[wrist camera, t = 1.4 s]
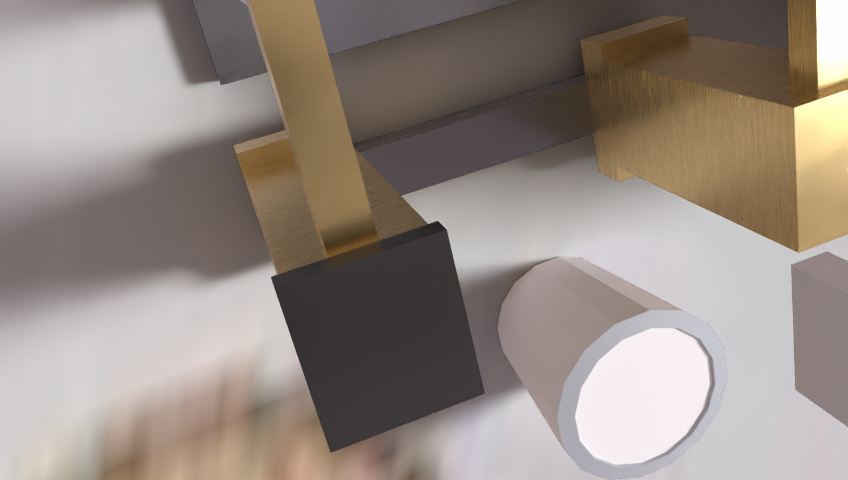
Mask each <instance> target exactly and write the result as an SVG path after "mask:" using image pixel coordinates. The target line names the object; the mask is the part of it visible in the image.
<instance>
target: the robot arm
mask: <svg viewBox="0 0 848 480" xmlns="http://www.w3.org/2000/svg"><path fill="white" fill-rule="evenodd" d="M791 273H792V302H793V332H794V361H795V390H797V391H798V392H800V393H801V394H802V395H804V396H805V397H807V398H808V399H809V400H811V401H812V402H814V403H815V404H816V405H818V406H819V407H821V408H822V409H824V410H825V411H826V412H828V413H829V414H831V415H832V416H833V417H835V418H836V419H838V420H839V421H840V422H842V423H843V424H845V425H846V426H847V427H848V261H846V260H844V259H842V258H840V257H838V256H836V255H833V254H831V253H829V252H824V253H822V254H819V255H816V256H814V257H811V258H808V259H806V260H803V261H800V262H798V263H795V264H792V265H791Z"/></svg>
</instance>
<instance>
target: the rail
mask: <svg viewBox="0 0 848 480" xmlns="http://www.w3.org/2000/svg"><path fill="white" fill-rule="evenodd" d="M592 133H593V127H592V120H591V113H590V106H589V98H588V91H587V84H586V77H585V74H582V75H579V76H576V77H573V78H569V79H566V80H563V81H560V82H556V83H553V84H550V85H547V86H543V87H540V88H537V89H534V90H530V91H527V92H524V93H521V94H517V95H514V96H511V97H508V98H504V99H501V100H498V101H495V102H491V103H488V104H485V105H482V106H478V107H475V108H472V109H469V110H465V111H462V112H459V113H456V114H452V115H449V116H446V117H443V118H439V119H436V120H433V121H430V122H426V123H423V124H420V125H417V126H413V127H410V128H407V129H404V130H400V131H397V132H394V133H390V134H387V135H384V136H381V137H377V138H374V139H371V140H368V141H364V142H361V143H358V144H355V145H353V147H354V148H355V149H356V150H357V151H358V152H359V153H360V154H361V155H362V156H363V158H364V159H365V160H366V161H367V162H368V163H369V164H370V165H371V166H372V167H373V168H374V169H375V170H376V171H377V172H378V173H379V174H380V175H381V176H382V177H383V178H384V179H385V180H386V181H387V182H388V183H389V184H390V185H391V186H392V187H393V188H394V190H395V191H396V192H397V193H398V194H399V195H400V196H401V195H404V194H407V193H410V192H414V191H417V190H420V189H423V188H426V187H429V186H432V185H435V184H438V183H441V182H444V181H447V180H451V179H454V178H457V177H460V176H463V175H466V174H469V173H472V172H475V171H478V170H481V169H484V168H487V167H491V166H494V165H497V164H500V163H503V162H506V161H509V160H512V159H515V158H518V157H521V156H524V155H528V154H531V153H534V152H537V151H540V150H543V149H546V148H549V147H552V146H555V145H558V144H561V143H565V142H568V141H571V140H574V139H577V138H580V137H583V136H586V135H589V134H592Z"/></svg>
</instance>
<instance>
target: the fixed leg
mask: <svg viewBox="0 0 848 480" xmlns="http://www.w3.org/2000/svg"><path fill="white" fill-rule="evenodd" d="M787 16H788V46H789V50H785V49H779V48H772V47H766V46H759V45H753V44H746V43H740V42H733V41H727V40H720V39H714V38H707V37H701V36H694V35H689V26H688V18H684V17H676V16H667V15H662V16H659V17H656V18H652V19H649V20H646V21H642V22H639V23H635V24H632V25H629V26H625V27H622V28H619V29H615V30H612V31H609V32H605V33H602V34H599V35H595V36H592V37H588V38H585V39H582V40H580V41H581V49H582V56H583V63H584V70H585V77H586V84H587V91H588V98H589V106H590V113H591V120H592V127H593V134H594V141H595V148H596V155H597V162H598V170H599V172H600V173H602V174H604V175H606V176H608V177H610V178H612V179H614V180H616V181H618V182H620V181H622V180H625V179H628V178H631V177H634V176H637V177H639V178H641V179H643V180H646V181H648V182H650V183H652V184H654V185H656V186H658V187H660V188H663V189H665V190H667V191H669V192H671V193H673V194H675V195H677V196H680V197H682V198H684V199H686V200H688V201H690V202H692V203H694V204H696V205H699V206H701V207H703V208H705V209H707V210H709V211H711V212H713V213H716V214H718V215H720V216H722V217H724V218H726V219H728V220H730V221H732V222H735V223H737V224H739V225H741V226H743V227H745V228H747V229H749V230H752V231H754V232H756V233H758V234H760V235H762V236H764V237H766V238H769V239H771V240H773V241H775V242H777V243H779V244H781V245H783V246H785V247H788V248H790V249H792V250H794V251H796V252H798V253H800V252H802V251H805V250H808V249H810V248H813V247H816V246H818V245H821V244H823V243H826V242H829V241H831V240H834V239H837V238H839V237H842V236H845V235H847V234H848V0H787Z"/></svg>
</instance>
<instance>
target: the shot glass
mask: <svg viewBox="0 0 848 480" xmlns="http://www.w3.org/2000/svg"><path fill="white" fill-rule="evenodd" d="M497 329H498V334H499V338H500V342H501V347H502V350H503V352H504V354H505V355H506V357H507V358H508V360H509V362H510V363H511V365H512V367H513V368H514V370H515V371H516V373H517V375H518V376H519V378H520V379H521V381H522V383H523V384H524V386H525V388H526V389H527V391H528V392H529V394H530V396H531V397H532V399H533V400H534V402H535V404H536V405H537V407H538V409H539V410H540V412H541V413H542V415H543V417H544V418H545V420H546V421H547V423H548V425H549V426H550V428H551V430H552V431H553V433H554V434H555V436H556V438H557V439H558V441H559V442H560V444H561V446H562V447H563V449H564V450H565V451H566V452H567V453H568V455H569V456H570V457H571V458H572V459H573V460H574V462H575V463H576V464H577V465H578V466H579V467H580V469H581V470H583V471H586V472H589V473H591V474H594V475H597V476H600V477H602V478H605V479H608V480H614V479H627V478H640V477H643V476H645V475H647V474H649V473H652V472H654V471H656V470H658V469H661V468H663V467H665V466H667V465H670V464H672V463H673V462H674V461H675V460H677V459H678V458H679V457H680V456H681V455H682V454H684V453H685V452H686V451H687V450H688V449H689V448H691V447H692V446H693V445H694V444H695V443H696V442H698V441H699V440H700V438H701V436H702V435H703V433H704V432H705V430H706V429H707V427H708V426H709V424H710V423H711V421H712V420H713V418H714V417H715V415H716V414H717V412H718V411H719V407H720V404H721V400H722V397H723V393H724V390H725V386H726V383H727V379H728V376H727V366H726V356H725V348H724V346H723V345H722V343H721V341H720V340H719V338H718V337H717V335H716V334H715V332H714V330H713V329H712V327H711V326H710V324H708V323H707V322H705V321H703V320H701V319H699V318H697V317H695V316H693V315H691V314H689V313H687V312H685V311H684V310H682V309H680V308H678V307H676V306H674V305H672V304H670V303H668V302H666V301H664V300H662V299H660V298H659V297H657V296H655V295H653V294H651V293H649V292H647V291H645V290H643V289H641V288H639V287H637V286H635V285H634V284H632V283H630V282H628V281H626V280H624V279H622V278H620V277H618V276H616V275H614V274H612V273H610V272H609V271H607V270H605V269H603V268H601V267H599V266H597V265H595V264H593V263H591V262H589V261H587V260H585V259H584V258H582V257H556V258H554V259H551V260H548V261H546V262H543V263H540V264H538V265H535V266H534V267H533V268H531V269H530V270H529V271H528V272H527V273H525V274H524V275H523V276H522V277H521V278H520V279H518V280H517V281H516V282H515V283H514V285H513V286H512V288H511V290H510V291H509V293H508V295H507V297H506V298H505V300H504V302H503V303H502V305H501V311H500V316H499V322H498V327H497Z"/></svg>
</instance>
